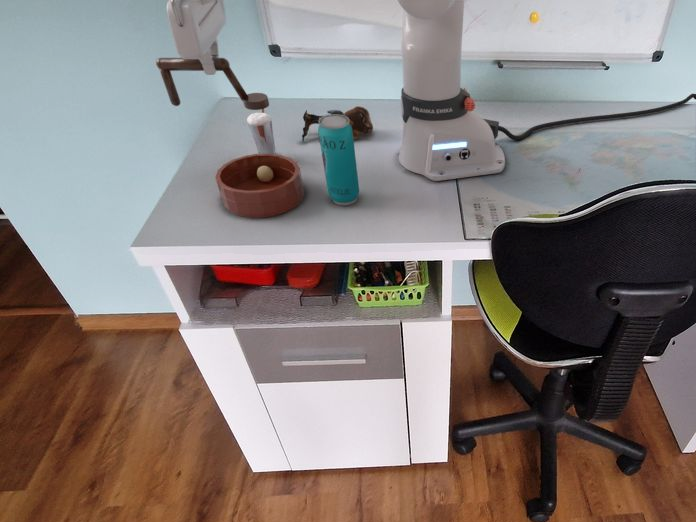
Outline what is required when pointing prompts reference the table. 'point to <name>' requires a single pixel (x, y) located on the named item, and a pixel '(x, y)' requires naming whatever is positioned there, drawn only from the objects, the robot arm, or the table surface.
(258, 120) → the milkshake
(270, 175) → the ball
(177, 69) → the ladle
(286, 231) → the table surface
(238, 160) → the bowl
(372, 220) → the table surface
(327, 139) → the beverage can
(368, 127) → the figurine
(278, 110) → the table surface
